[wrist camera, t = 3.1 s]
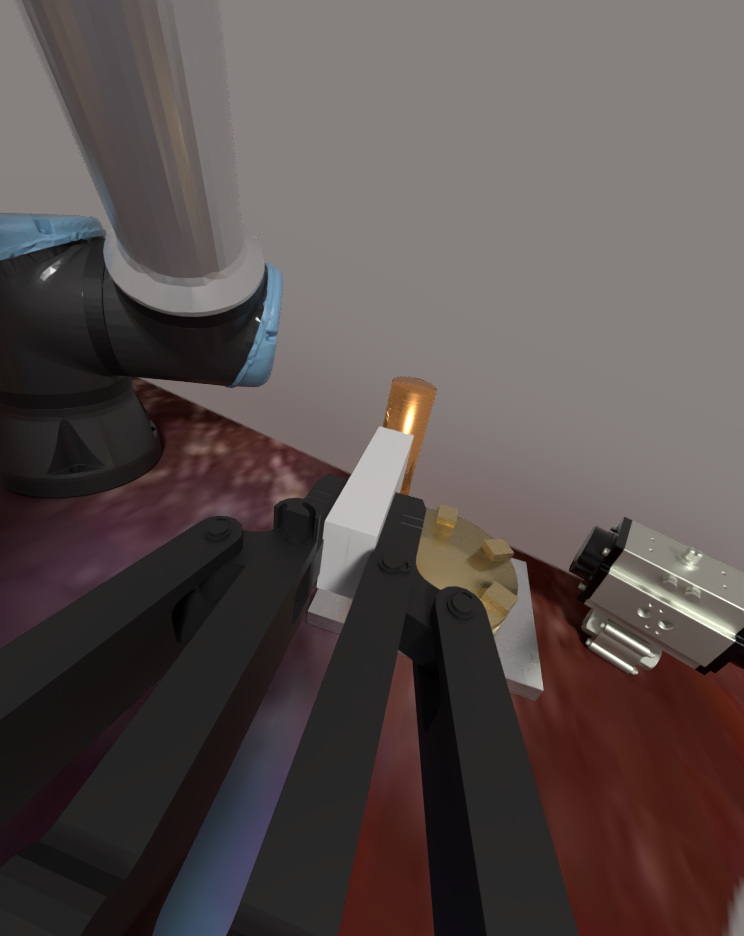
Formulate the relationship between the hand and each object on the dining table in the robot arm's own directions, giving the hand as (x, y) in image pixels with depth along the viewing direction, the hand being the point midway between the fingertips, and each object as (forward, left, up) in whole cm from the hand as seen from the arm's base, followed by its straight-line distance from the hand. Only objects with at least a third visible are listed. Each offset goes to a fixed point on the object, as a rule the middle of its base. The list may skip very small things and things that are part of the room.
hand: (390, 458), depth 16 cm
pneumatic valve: (+21, +10, -19) cm, 30 cm away
